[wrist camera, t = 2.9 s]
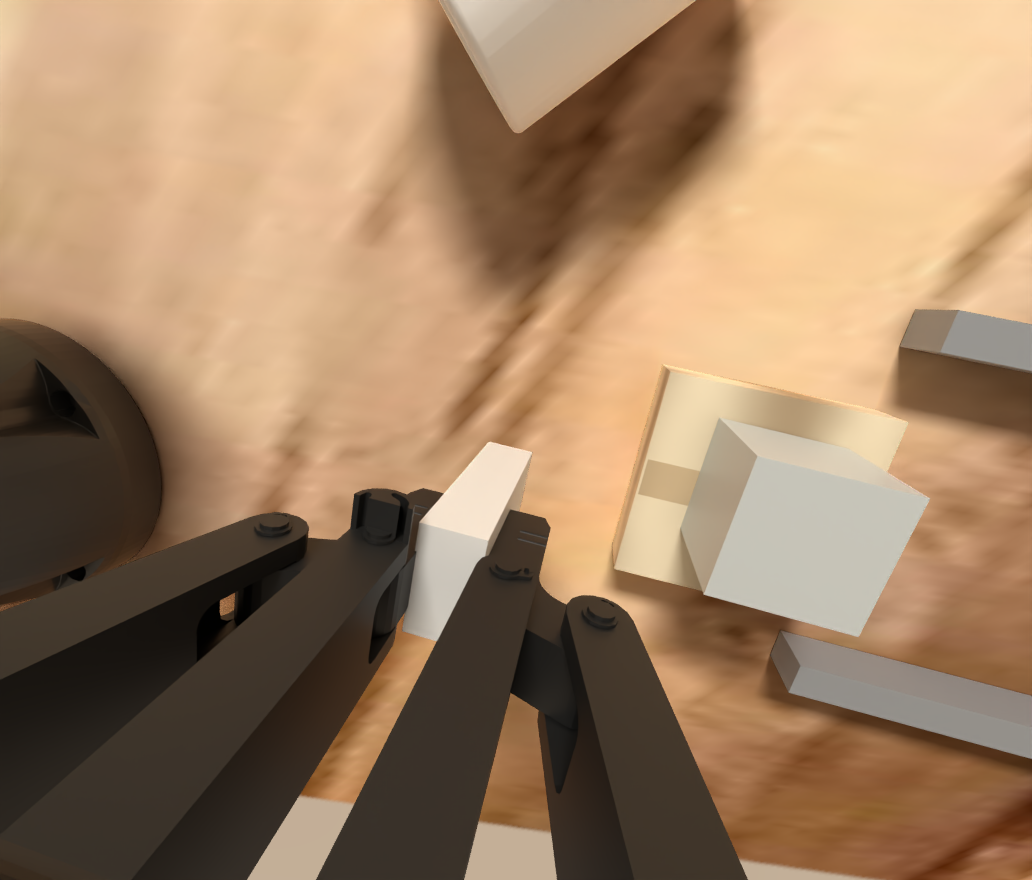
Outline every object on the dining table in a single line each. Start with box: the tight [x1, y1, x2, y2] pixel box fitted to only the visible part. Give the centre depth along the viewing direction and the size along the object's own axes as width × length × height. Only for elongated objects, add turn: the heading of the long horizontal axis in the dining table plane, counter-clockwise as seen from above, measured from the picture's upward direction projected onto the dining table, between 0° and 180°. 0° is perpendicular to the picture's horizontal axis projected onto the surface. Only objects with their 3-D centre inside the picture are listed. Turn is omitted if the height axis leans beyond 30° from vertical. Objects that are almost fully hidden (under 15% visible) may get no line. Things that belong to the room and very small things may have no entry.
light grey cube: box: [680, 417, 930, 637], centre depth 18 cm, size 5×5×5 cm
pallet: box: [612, 365, 909, 591], centre depth 22 cm, size 9×9×3 cm
